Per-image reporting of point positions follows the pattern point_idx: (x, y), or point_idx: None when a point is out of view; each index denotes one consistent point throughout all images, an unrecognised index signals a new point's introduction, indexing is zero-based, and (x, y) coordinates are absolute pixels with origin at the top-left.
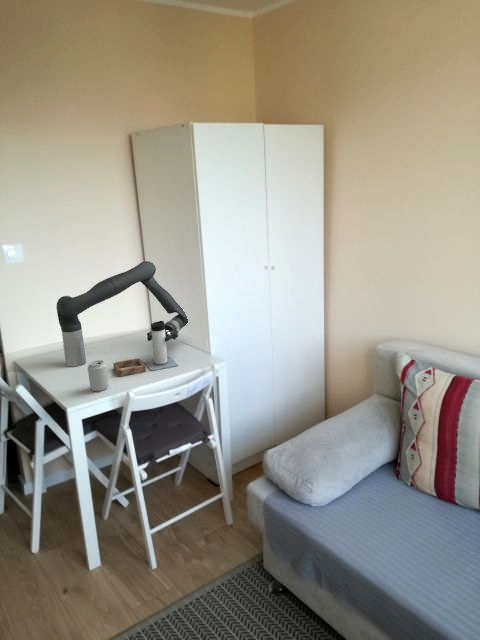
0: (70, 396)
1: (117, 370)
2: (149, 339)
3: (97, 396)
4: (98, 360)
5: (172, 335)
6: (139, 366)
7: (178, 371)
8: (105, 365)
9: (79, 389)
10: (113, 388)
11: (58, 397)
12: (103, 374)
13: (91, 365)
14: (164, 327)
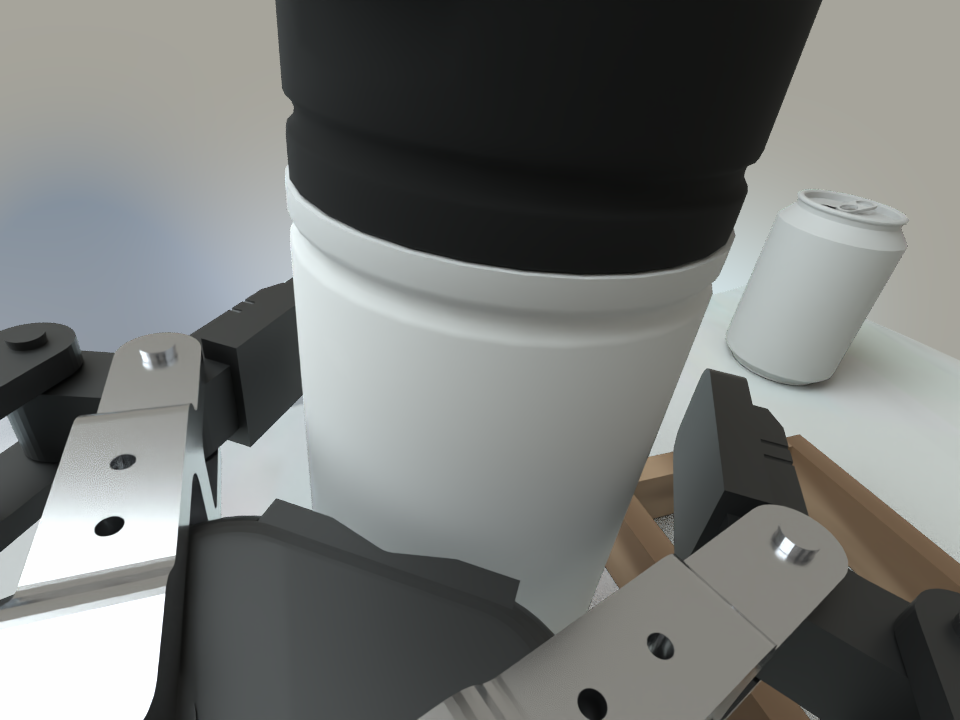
0: (859, 333)
1: (812, 449)
2: (686, 419)
3: (721, 309)
4: (874, 219)
5: (97, 364)
6: (645, 470)
7: (259, 465)
8: (784, 219)
9: (889, 378)
10: (693, 349)
11: (910, 338)
12: (760, 253)
13: (847, 196)
14: (293, 115)
